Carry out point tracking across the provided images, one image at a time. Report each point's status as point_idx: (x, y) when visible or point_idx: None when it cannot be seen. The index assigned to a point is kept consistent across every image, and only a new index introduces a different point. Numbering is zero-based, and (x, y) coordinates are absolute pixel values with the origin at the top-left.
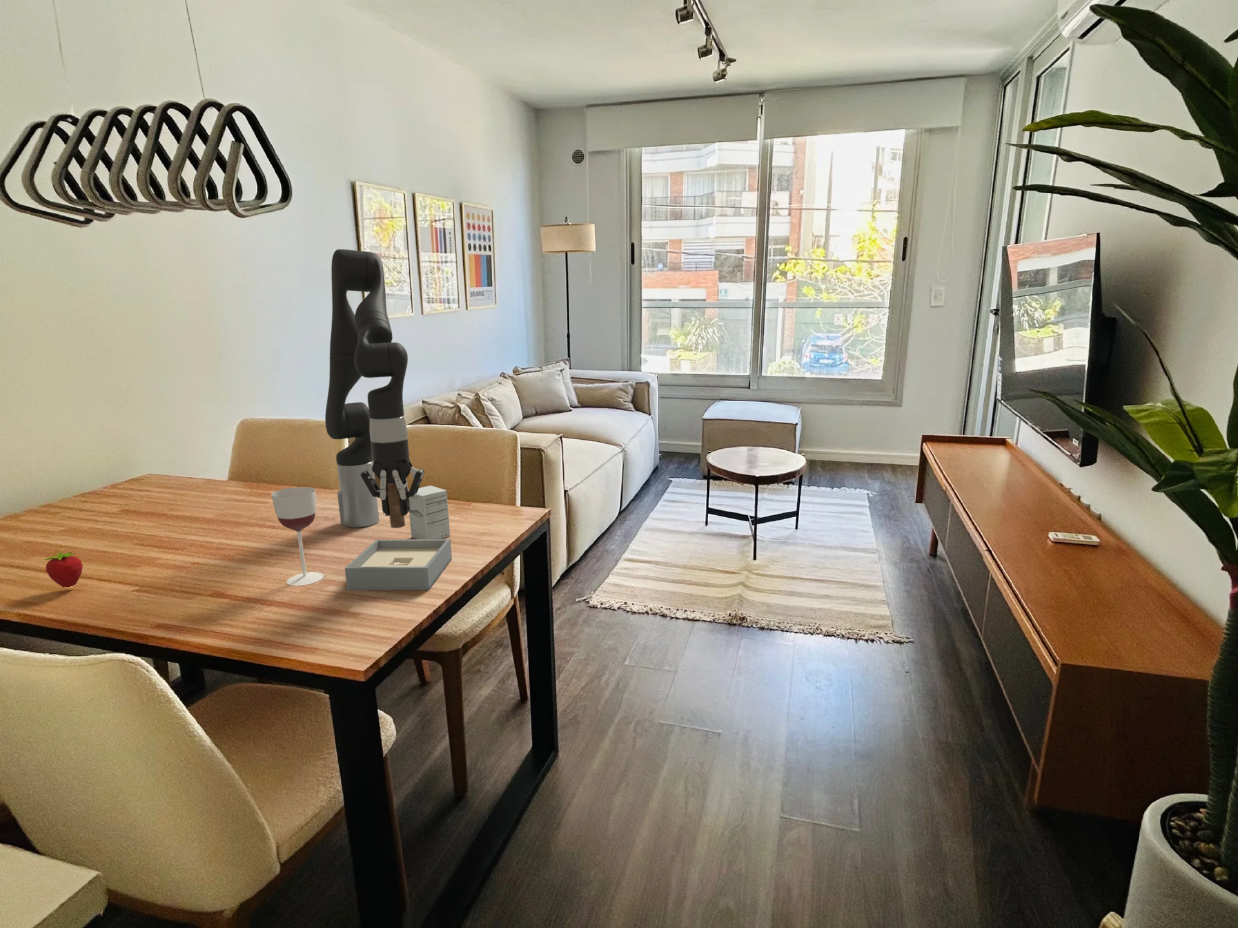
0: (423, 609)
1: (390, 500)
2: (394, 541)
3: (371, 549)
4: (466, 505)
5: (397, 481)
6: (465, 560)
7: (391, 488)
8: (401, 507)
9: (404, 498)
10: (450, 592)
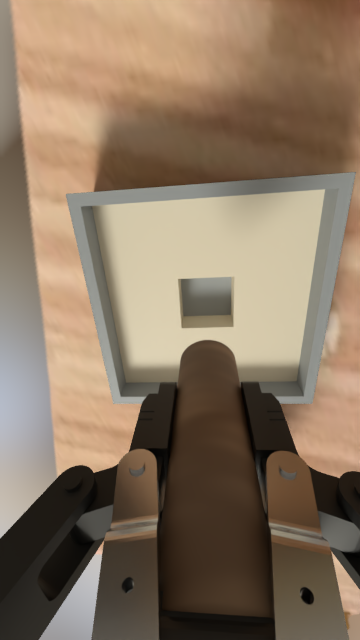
0: (41, 41)
1: (227, 442)
2: None
3: (308, 349)
4: None
5: (131, 633)
6: (95, 365)
7: (213, 539)
8: (167, 410)
9: (132, 455)
10: (32, 180)
